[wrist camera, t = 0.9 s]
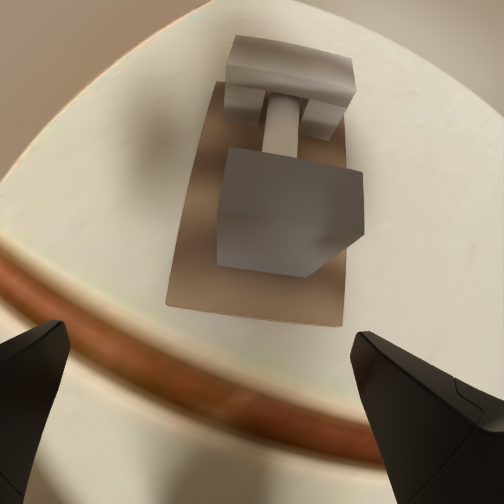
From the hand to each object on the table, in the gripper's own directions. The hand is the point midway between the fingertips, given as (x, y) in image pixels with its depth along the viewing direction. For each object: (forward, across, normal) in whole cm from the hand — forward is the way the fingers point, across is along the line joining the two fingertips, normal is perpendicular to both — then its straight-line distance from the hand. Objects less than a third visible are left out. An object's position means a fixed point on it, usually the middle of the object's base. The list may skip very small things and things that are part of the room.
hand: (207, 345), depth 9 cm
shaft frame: (+17, -4, -2) cm, 17 cm away
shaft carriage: (+15, -4, -3) cm, 16 cm away
